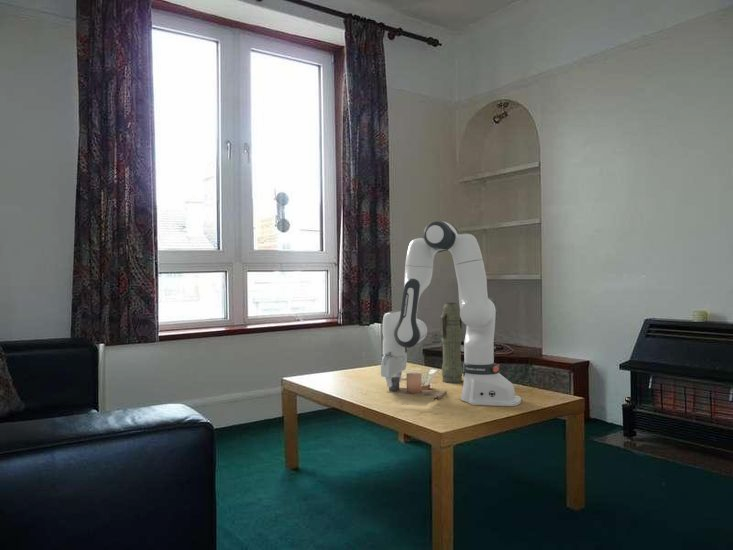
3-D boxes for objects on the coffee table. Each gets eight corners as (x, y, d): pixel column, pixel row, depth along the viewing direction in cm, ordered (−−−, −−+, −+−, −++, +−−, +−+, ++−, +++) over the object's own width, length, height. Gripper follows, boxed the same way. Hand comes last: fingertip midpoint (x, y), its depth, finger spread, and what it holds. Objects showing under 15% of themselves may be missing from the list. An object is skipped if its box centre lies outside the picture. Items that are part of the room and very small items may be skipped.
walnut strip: (446, 394, 224) (446, 378, 224) (439, 399, 215) (439, 383, 215) (395, 390, 233) (395, 375, 233) (386, 395, 224) (386, 379, 224)
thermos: (435, 381, 251) (434, 303, 250) (453, 378, 258) (452, 301, 258) (450, 384, 244) (449, 303, 244) (468, 380, 252) (467, 302, 251)
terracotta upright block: (423, 390, 226) (423, 373, 226) (419, 393, 221) (418, 375, 221) (409, 389, 229) (409, 372, 228) (404, 392, 223) (404, 374, 223)
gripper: (391, 354, 217) (392, 390, 217) (409, 347, 236) (409, 380, 236) (376, 353, 220) (377, 389, 220) (395, 346, 238) (395, 379, 238)
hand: (394, 384), depth 228 cm, fingers open, 8 cm apart
